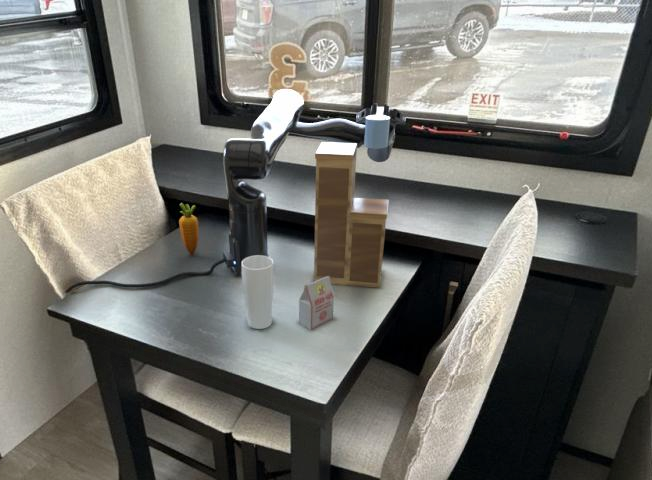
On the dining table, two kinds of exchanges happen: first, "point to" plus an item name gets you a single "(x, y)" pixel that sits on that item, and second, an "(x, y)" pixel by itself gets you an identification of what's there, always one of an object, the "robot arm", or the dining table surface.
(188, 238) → the carrot
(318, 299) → the milk carton
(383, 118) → the pale blue saucepan
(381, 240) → the step stand
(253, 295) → the drinking glass
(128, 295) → the dining table surface
